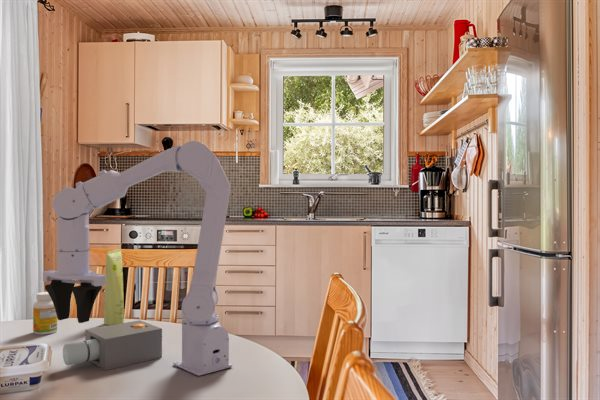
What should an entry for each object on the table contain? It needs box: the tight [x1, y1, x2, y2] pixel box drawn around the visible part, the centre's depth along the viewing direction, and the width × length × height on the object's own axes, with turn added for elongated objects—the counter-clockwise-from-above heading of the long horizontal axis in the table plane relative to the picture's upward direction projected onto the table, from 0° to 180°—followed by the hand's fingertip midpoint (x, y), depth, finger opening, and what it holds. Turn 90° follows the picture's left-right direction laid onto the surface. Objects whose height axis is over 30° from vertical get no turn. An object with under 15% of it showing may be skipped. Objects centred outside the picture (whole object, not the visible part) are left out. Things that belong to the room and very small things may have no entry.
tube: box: [103, 248, 125, 326], centre depth 138 cm, size 6×5×20 cm
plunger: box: [133, 324, 145, 329], centre depth 111 cm, size 2×2×3 cm
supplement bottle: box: [32, 291, 58, 336], centre depth 129 cm, size 5×5×10 cm
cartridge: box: [62, 339, 100, 366], centre depth 105 cm, size 13×4×4 cm, turn 133°
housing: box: [84, 319, 163, 371], centre depth 108 cm, size 12×10×6 cm
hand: (73, 320), depth 101 cm, fingers open, 5 cm apart
